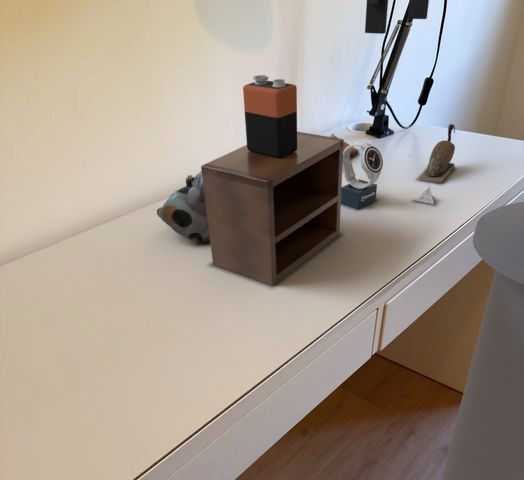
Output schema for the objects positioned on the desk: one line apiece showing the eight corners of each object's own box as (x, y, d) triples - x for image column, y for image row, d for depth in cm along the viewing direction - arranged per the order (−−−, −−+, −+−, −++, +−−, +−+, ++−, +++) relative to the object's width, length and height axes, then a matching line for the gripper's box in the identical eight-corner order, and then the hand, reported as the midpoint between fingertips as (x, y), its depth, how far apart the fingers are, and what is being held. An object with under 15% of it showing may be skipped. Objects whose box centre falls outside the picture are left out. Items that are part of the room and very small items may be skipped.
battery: (264, 143, 82) (261, 72, 76) (298, 151, 78) (298, 77, 72) (245, 151, 80) (240, 78, 74) (279, 159, 76) (277, 83, 70)
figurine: (439, 158, 118) (445, 118, 113) (459, 161, 116) (467, 120, 111) (419, 180, 109) (425, 137, 104) (440, 183, 107) (448, 139, 102)
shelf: (339, 234, 92) (343, 139, 82) (272, 285, 80) (267, 181, 70) (283, 219, 98) (281, 128, 88) (212, 265, 86) (200, 165, 76)
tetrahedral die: (437, 204, 102) (441, 188, 101) (433, 204, 100) (438, 188, 99) (420, 200, 103) (424, 184, 102) (416, 201, 101) (420, 184, 100)
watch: (365, 211, 99) (370, 152, 92) (333, 200, 103) (335, 143, 97) (384, 202, 101) (389, 144, 95) (351, 192, 106) (354, 135, 99)
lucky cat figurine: (197, 206, 104) (226, 142, 96) (240, 243, 101) (273, 180, 93) (142, 213, 92) (169, 140, 84) (189, 255, 89) (221, 184, 81)
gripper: (428, -172, 71) (409, 13, 84) (334, -191, 56) (329, 38, 69) (484, -181, 68) (455, 14, 81) (399, -203, 52) (381, 41, 66)
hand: (397, 25), depth 75 cm, fingers open, 13 cm apart
